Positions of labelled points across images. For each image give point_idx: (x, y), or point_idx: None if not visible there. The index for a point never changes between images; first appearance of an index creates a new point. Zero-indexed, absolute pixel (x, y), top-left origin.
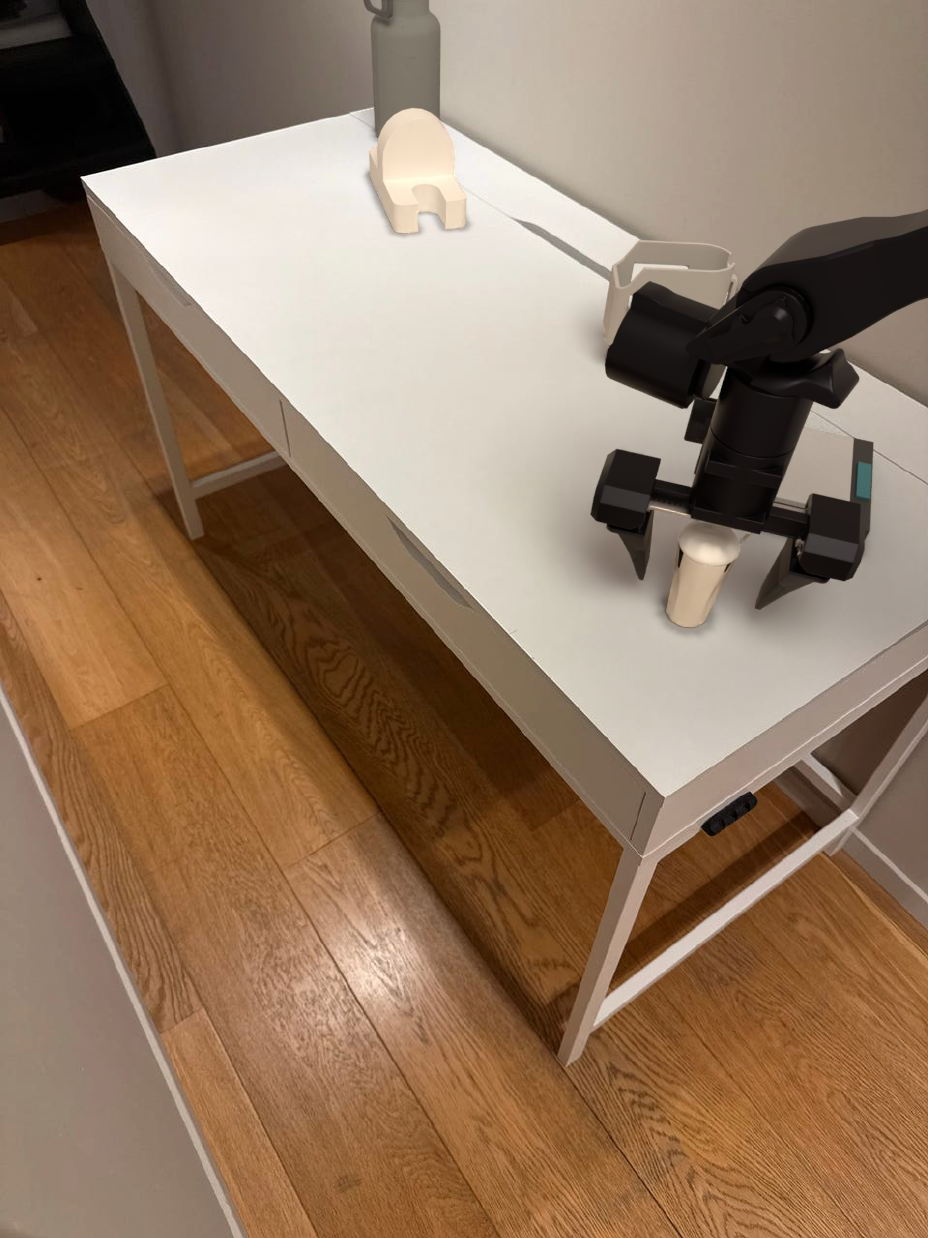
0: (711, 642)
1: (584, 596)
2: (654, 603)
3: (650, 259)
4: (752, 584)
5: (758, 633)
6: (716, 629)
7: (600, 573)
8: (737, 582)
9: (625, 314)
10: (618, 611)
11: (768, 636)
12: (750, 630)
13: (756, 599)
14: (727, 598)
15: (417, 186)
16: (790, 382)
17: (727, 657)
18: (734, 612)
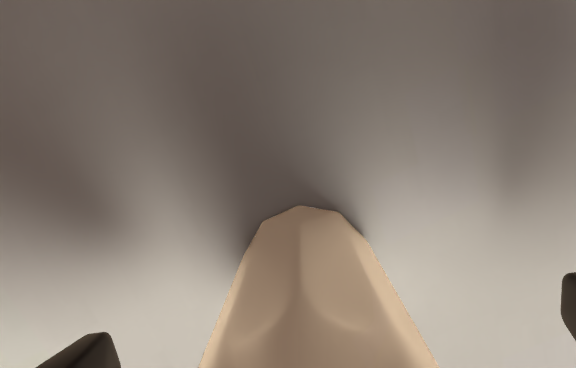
0: None
1: (21, 330)
2: (208, 265)
3: None
4: (492, 21)
5: (535, 234)
6: (409, 276)
7: (6, 228)
8: (436, 39)
9: None
10: (131, 336)
11: (567, 231)
12: (509, 234)
13: (571, 290)
14: (416, 137)
15: None
16: None
17: (458, 351)
18: (449, 187)
